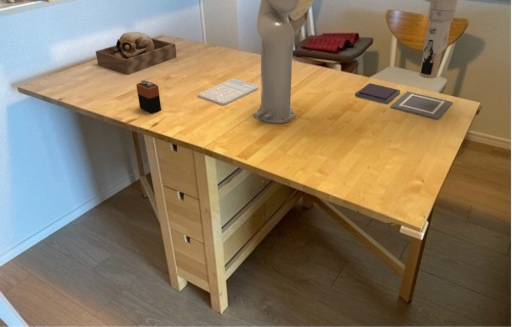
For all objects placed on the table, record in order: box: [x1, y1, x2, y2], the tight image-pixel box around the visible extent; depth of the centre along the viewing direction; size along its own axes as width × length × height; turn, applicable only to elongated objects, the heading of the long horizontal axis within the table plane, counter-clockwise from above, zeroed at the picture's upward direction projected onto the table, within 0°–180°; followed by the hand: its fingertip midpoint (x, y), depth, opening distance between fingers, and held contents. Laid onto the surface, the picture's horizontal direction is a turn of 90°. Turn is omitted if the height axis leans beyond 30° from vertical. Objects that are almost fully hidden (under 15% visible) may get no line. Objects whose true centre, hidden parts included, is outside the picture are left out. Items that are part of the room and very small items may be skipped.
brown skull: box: [114, 31, 154, 59], centre depth 186 cm, size 16×18×14 cm
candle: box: [418, 51, 443, 79], centre depth 141 cm, size 6×6×10 cm
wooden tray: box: [95, 37, 177, 75], centre depth 189 cm, size 27×20×6 cm
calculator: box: [197, 78, 260, 107], centre depth 159 cm, size 13×20×2 cm, turn 141°
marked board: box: [389, 91, 453, 121], centre depth 149 cm, size 16×16×1 cm
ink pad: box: [354, 82, 401, 105], centre depth 157 cm, size 12×12×2 cm
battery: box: [135, 79, 162, 114], centre depth 145 cm, size 4×7×10 cm, turn 48°
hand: (429, 70), depth 142 cm, fingers closed on candle, 5 cm apart
